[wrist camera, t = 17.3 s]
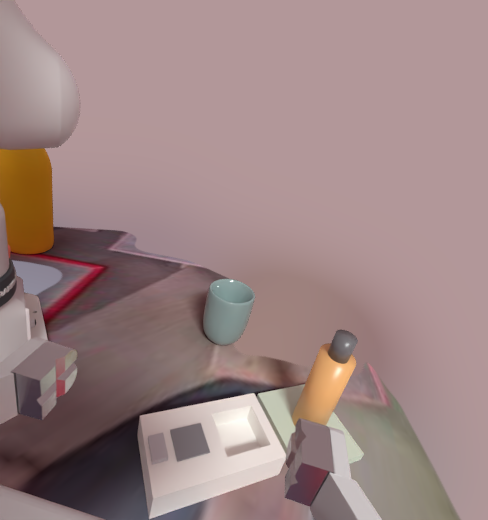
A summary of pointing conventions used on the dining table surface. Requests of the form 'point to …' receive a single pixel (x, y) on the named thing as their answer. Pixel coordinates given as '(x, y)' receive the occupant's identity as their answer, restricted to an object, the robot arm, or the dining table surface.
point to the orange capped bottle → (327, 379)
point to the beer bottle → (27, 199)
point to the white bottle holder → (205, 451)
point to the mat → (280, 418)
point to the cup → (227, 310)
